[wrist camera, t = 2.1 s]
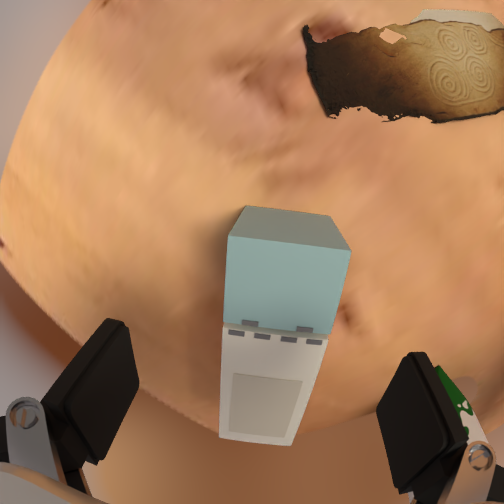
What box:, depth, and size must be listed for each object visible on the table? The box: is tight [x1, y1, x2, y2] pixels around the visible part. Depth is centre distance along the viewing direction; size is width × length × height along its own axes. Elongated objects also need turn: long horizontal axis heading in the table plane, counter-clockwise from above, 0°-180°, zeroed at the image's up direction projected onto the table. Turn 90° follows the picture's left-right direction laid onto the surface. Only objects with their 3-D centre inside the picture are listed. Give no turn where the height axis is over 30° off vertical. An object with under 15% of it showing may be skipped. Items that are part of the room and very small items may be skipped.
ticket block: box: [219, 322, 328, 446], centre depth 21 cm, size 6×12×7 cm, turn 175°
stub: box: [223, 206, 351, 334], centre depth 18 cm, size 6×5×7 cm
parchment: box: [303, 9, 504, 123], centre depth 14 cm, size 25×10×1 cm, turn 111°
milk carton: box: [408, 366, 489, 503], centre depth 16 cm, size 9×9×20 cm
